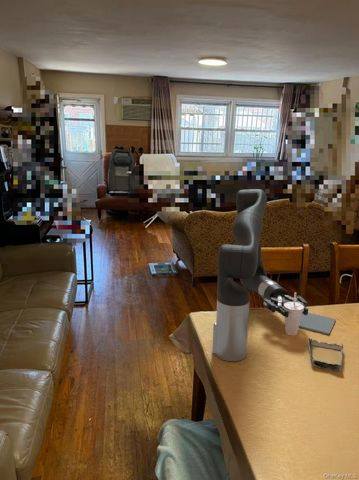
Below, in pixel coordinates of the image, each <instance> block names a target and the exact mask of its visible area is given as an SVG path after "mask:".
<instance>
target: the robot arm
mask: <svg viewBox="0 0 359 480" xmlns="http://www.w3.org/2000/svg"><path fill="white" fill-rule="evenodd" d="M267 205H268V196H267V193H266V191H265V190H263V189H260V188H254V189H252V188H250V189H240V190H238V191H237V193H236V198H235V206H236V207H235V208H236V213H237V215H236V216H235V218H234V221H233V224H232V228H231V232H232V234H231V235H232V237H233V239H234V240H235V241H236V243H237V244H230V243H229V244H226V243H225V244H222V245H220V247H219V249H218V251H217V261H216V262H217V268H216V269H217V294H216V295H217V296H216V297H217V298H216V318H215V319H216V321H215V322H214V323H213V326H212V352H211V353H212V354H214V355H216V356H217V357H218V358H219V359H220V360H224V361H227V362H239V361H242V360H244V359H245V358H246V356H247V350H248V347H247V346H248V335H249V334H248V332H249V318H250V317H249V315H250V301H251V300H250V298H251V293H250V291H253V292H254V293H255V292H256V293H257V294H258V295H259V296H260V297H261V298H262V299H263V308H265V309H266V310H268V311H269V312H271V313H272V314H273V313H278V314H280V315H282V316H283V317H284V318H285V317H288V314H289V312H288V310H286V309H285V308H284V307H283V306H284V303H286V302H294V296H290V295H289V293H288V292H287V290H286V289H285V288H284V287H282V286H281V285H280V284H278V283H277V282H276V281H274V280H272V279H271V278H269V276H268V275H267V272H266V269H265V266H264V262H263V259H262V258H263V256H262V243H261V240H260V239H261V234H262V231H263V222H264V221H263V220H264V215H265V213H266V209H267ZM233 279H239V281H240V283H241V284H239V283H237V282H236V281H234V280H233ZM249 290H250V291H249ZM296 302H297V303H300V304H302V305H303V306H304V311H303V312H302V313H303V314H304V315H308V313H309V308H308V307H307V301H306V300H305V299H304V298H303V297H302V296H301V295H296Z"/></svg>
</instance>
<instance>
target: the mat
mask: <svg viewBox="0 0 359 480" xmlns="http://www.w3.org/2000/svg"><path fill="white" fill-rule="evenodd" d="M336 320H337V319H336V318H333V317H330V316H329V317H328V316H325V315H320V314H316V313H311V312H308V315H304V314H303V313H302V315H301V319H300V323H299V327H300V328H299V329H304V330H309V331H310V332H311V331H312V332H314V333H315V332H316V333H319V334H324V335H326V336H330V334H331V332H332V330H333V327H334V325H335V322H336Z"/></svg>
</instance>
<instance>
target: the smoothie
mask: <svg viewBox="0 0 359 480" xmlns="http://www.w3.org/2000/svg"><path fill="white" fill-rule="evenodd" d="M293 298H294V302H286V303H284V306H283V307H284V308H285V309H286V310H288V312H289V314H288V317H285V316H284V329H285V330H284V332H285V334H287V335H289V336H296V335H298V332H299V329H300V328H299V323H300V319H301V315H302V312H303V311H304V306H303V305H302V304H300V303H297V302H296V298H297V292H294V294H293Z"/></svg>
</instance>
